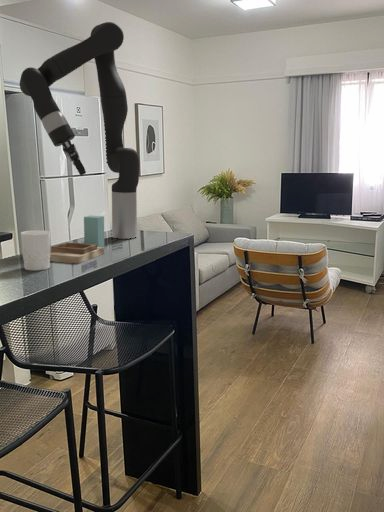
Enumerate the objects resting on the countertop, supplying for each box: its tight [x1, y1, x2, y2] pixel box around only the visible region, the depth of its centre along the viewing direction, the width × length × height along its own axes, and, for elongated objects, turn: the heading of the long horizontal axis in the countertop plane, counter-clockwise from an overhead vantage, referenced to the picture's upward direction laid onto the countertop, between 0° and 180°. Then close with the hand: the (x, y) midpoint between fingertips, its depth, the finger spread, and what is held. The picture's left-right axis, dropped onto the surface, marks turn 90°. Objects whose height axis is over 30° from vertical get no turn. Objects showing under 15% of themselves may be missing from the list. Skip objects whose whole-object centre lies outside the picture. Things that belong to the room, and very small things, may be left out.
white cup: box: [20, 229, 52, 271], centre depth 140 cm, size 8×8×10 cm
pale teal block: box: [83, 215, 105, 250], centre depth 168 cm, size 4×5×11 cm
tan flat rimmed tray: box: [50, 242, 105, 265], centre depth 156 cm, size 16×12×4 cm
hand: (83, 173), depth 168 cm, fingers open, 8 cm apart
